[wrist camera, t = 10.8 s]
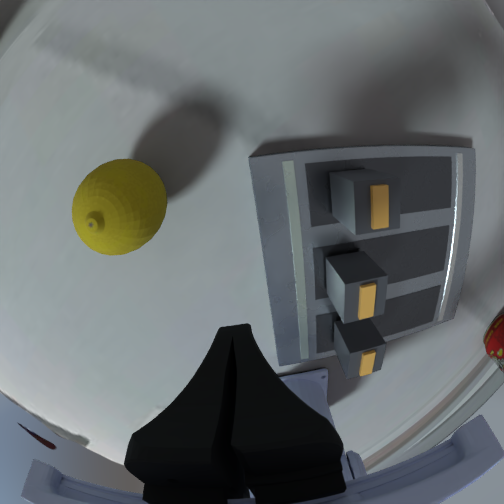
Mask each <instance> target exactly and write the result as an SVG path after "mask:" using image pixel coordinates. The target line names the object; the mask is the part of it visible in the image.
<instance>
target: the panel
mask: <svg viewBox="0 0 504 504" xmlns="http://www.w3.org/2000/svg"><path fill="white" fill-rule="evenodd" d="M248 158H249V164H250V171H251V177H252V184H253V190H254V197H255V203H256V210H257V217H258V223H259V230H260V237H261V244H262V251H263V257H264V264H265V271H266V278H267V285H268V292H269V299H270V307H271V314H272V321H273V328H274V335H275V343H276V350H277V357H278V362H279V366H285V365H290V364H296V363H301V362H306V361H311V360H316V359H321V358H325V357H330V356H334V355H337V354H336V352H335V350H334V322H335V321H340V320H341V318H340V316H339V314H338V312H337V311H336V309H335V307H334V305H333V303H332V301H331V300H330V298H329V296H328V294H327V281H326V257H331V256H337V255H342V254H348V253H354V252H359V251H364V252H365V253H366V254H367V255H368V256H369V257H370V258H371V259H372V260H373V261H374V262H375V263H376V264H377V265H378V266H379V267H380V268H381V269H382V270H383V271H384V272H385V273H386V274H387V275H388V283H387V293H386V301H385V309H384V314H382V315H378V316H374V317H370V319H371V321H372V322H373V324H374V325H375V327H376V328H377V330H378V331H379V333H380V334H381V336H382V337H383V339H384V341H385V342H387V341H390V340H393V339H397V338H400V337H403V336H406V335H409V334H412V333H415V332H418V331H421V330H424V329H427V328H429V327H432V326H435V325H438V324H440V323H443V322H445V321H448V320H451V319H453V318H454V316H455V312H456V308H457V305H458V301H459V297H460V293H461V289H462V284H463V280H464V275H465V270H466V265H467V259H468V253H469V247H470V240H471V233H472V224H473V214H474V201H475V177H476V159H475V149H474V148H468V147H459V146H439V145H372V146H350V147H335V148H322V149H310V150H300V151H291V152H283V153H274V154H267V155H260V156H253V157H248ZM361 169H372V170H376V171H379V172H383V173H386V174H389V175H393V176H396V177H399V178H400V228H399V229H392V230H386V231H380V232H374V233H367V234H361V235H354V234H353V233H352V232H351V231H350V230H349V229H347V228H346V227H345V226H344V225H343V224H342V223H340V222H339V221H338V220H337V219H336V218H335V217H333V214H332V199H331V186H330V175H329V172H338V171H348V170H361Z"/></svg>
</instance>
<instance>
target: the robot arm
mask: <svg viewBox="0 0 504 504" xmlns="http://www.w3.org/2000/svg"><path fill="white" fill-rule="evenodd" d="M323 375H324V376H323ZM327 386H328V370H327V369H319V370H314V371H309V372H304V373H299V374H294V375H289V376H283V377H278V375H277V374H276V373H275V372H274V370H273V369H272V368H271V366H270V365H269V364H268V362H267V361H266V359H265V358H264V356H263V354H262V352H261V351H260V349H259V347H258V345H257V343H256V341H255V339H254V337H253V334H252V329H251V325H250V324H248V323H247V324H240V325H233V326H226V327H220V328H219V329H218V332H217V334H216V336H215V339H214V341H213V343H212V345H211V347H210V349H209V351H208V353H207V355H206V357H205V358H204V360H203V362H202V364H201V365H200V367H199V368H198V370H197V371H196V373H195V375H194V376H193V378H192V379H191V380H190V382H189V383H188V384H187V386H186V387H185V388H184V389H183V391H182V392H181V393H180V394H179V395H178V396H177V397H176V399H175V400H174V401H173V402H172V403H171V404H170V405H169V406H168V407H167V408H166V409H165V410H163V411H162V412H161V413H160V414H159V415H158V416H157V417H156V418H154V419H153V420H152V421H150V422H149V423H148V424H146V425H145V426H143V427H142V428H141V429H139V430H138V431H136V432H135V433H133V434H132V436H131V439H130V441H129V444H128V448H127V452H126V457H125V461H124V465H125V467H126V469H127V470H128V471H129V472H130V473H131V474H133V475H134V476H135V477H137V478H138V479H139V480H141V481H142V482H143V483H145V485H144V491H143V494H140V493H134V492H128V491H123V490H118V489H113V488H109V487H105V486H100V485H97V484H93V483H90V482H86V481H82V480H79V479H76V478H73V477H70V476H66V475H64V474H62V473H61V472H60V471H59V470H57V469H56V468H55V467H53V466H51V465H49V464H47V463H44V462H41V461H39V460H37V459H33V462H32V464H31V467H30V470H29V473H28V476H27V479H26V482H25V485H24V488H23V491H22V494H21V497H22V498H23V499H25V500H26V501H28V502H30V503H31V504H439V503H441V502H443V501H445V500H446V499H448V498H450V497H451V496H453V495H455V494H456V493H458V492H460V491H461V490H463V489H464V488H466V487H467V486H469V485H470V484H472V483H473V482H475V481H476V480H477V479H479V478H480V477H481V476H482V475H484V474H485V473H486V472H488V471H489V470H490V469H491V468H492V467H494V466H495V465H496V464H497V463H498V462H499V461H501V460H502V459H503V458H504V450H503V449H502V447H501V445H500V443H499V442H498V440H497V438H496V437H495V435H494V433H493V432H492V430H491V428H490V427H489V425H488V423H487V422H486V420H485V419H484V417H483V416H482V415H479V416H477V417H476V418H474V419H472V420H471V421H469V422H468V423H466V424H464V425H463V426H461V427H460V428H459V429H458V430H456V432H454V434H453V435H452V437H451V439H449V440H447V441H445V442H443V443H442V444H440V445H438V446H436V447H434V448H432V449H430V450H428V451H426V452H424V453H421V454H419V455H417V456H415V457H413V458H410V459H408V460H406V461H403V462H401V463H399V464H396V465H394V466H391V467H388V468H386V469H383V470H380V471H378V472H375V473H372V474H369V475H367V473H366V470H365V467H364V464H363V462H362V459H361V457H360V455H359V454H358V453H355V452H353V451H352V450H351V451H348V452H346V456H347V458H346V456H345V452H344V448H343V443H342V440H341V438H340V436H339V434H338V433H337V431H336V428H335V425H334V422H333V419H332V415H331V412H330V409H329V406H328V403H327Z"/></svg>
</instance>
